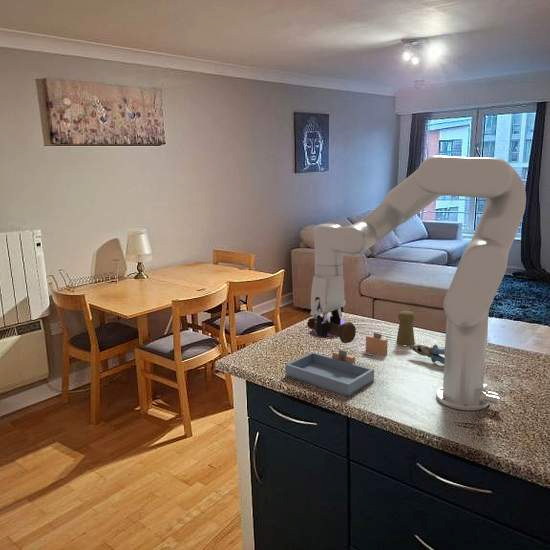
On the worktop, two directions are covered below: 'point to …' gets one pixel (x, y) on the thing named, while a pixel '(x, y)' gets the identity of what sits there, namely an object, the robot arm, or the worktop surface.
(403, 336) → the cork
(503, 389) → the worktop surface
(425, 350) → the pliers
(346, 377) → the tray
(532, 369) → the worktop surface
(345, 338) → the bolt
